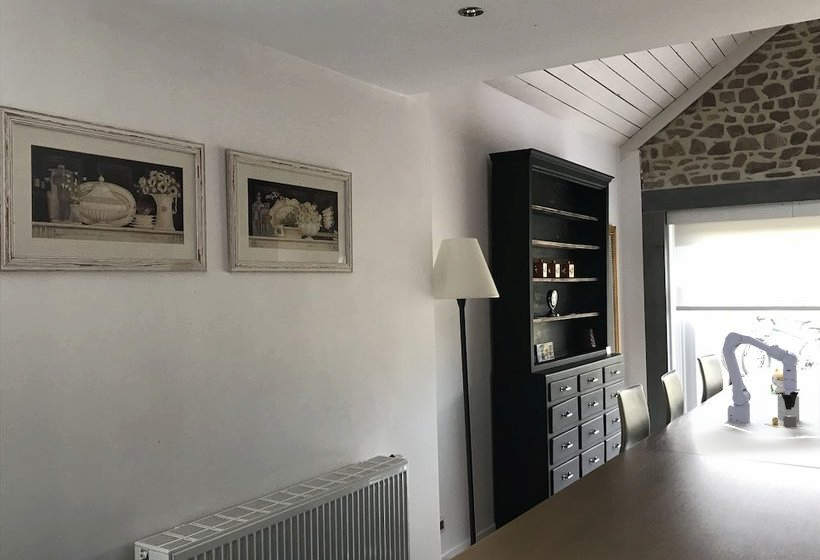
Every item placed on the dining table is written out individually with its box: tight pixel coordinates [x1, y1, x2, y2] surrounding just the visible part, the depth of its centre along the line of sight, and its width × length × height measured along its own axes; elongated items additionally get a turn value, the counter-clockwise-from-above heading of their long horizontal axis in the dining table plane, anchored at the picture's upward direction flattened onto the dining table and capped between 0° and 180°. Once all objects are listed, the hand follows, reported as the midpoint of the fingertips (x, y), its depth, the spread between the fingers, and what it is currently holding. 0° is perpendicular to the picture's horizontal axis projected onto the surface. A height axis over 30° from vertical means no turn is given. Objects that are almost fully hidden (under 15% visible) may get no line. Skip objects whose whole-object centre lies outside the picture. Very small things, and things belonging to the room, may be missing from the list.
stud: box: [771, 416, 779, 425], centre depth 357 cm, size 2×2×4 cm
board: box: [764, 422, 802, 429], centre depth 354 cm, size 13×10×1 cm
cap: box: [783, 415, 798, 428], centre depth 353 cm, size 5×5×4 cm
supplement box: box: [777, 394, 800, 422], centre depth 370 cm, size 7×7×13 cm
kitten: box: [770, 367, 785, 394], centre depth 460 cm, size 15×10×15 cm
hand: (790, 408), depth 353 cm, fingers open, 7 cm apart
